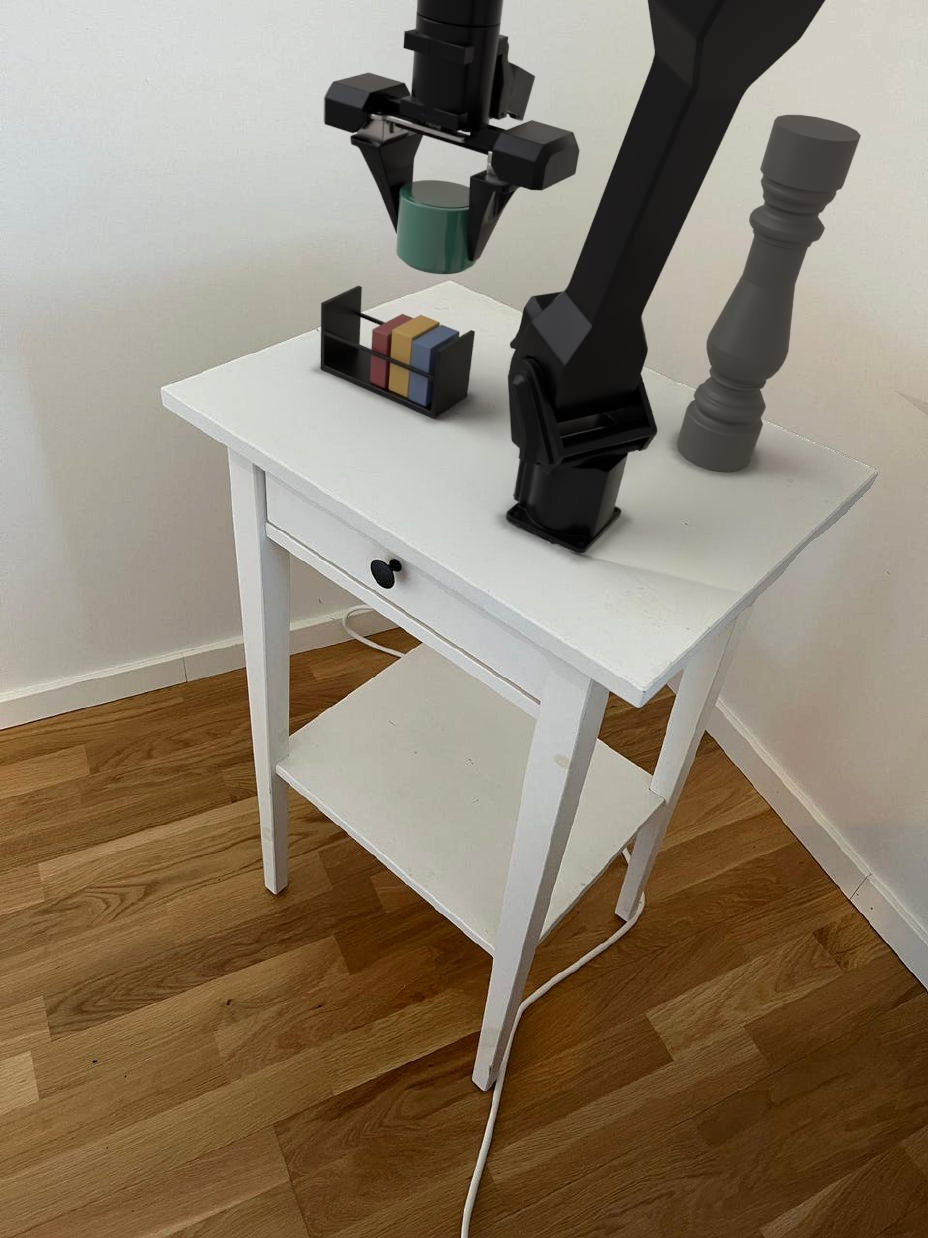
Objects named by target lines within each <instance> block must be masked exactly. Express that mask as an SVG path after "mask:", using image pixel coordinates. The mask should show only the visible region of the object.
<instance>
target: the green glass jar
mask: <svg viewBox="0 0 928 1238" xmlns="http://www.w3.org/2000/svg"><path fill="white" fill-rule="evenodd" d="M469 188H470V186H467V185H465V184H461V183H457V182H454V181H453V182H452V181H447V180H436V179H423V180H414V181H413V182H410V183H407V184H405V185H404V186H402V187H401V189H400V193H399V209H398V225H397V234H396V241H395V242H396V243H395V253H396V256H397V257H398V259H400V260H401V261H402V262H404V263H405V264H406V265H407V266H408V267H410V268H412V269H414V270H416V271H420V272H422V273H423V272H424V273H428V274H433V275H455V274H459V273H462V272H465V271H466V270H468V269H470V268H472V267H473V266H475V265H476V264H477V261H478V260H476V261H474V262H472V261H469V258H468V246H467V238H468V214H469Z"/></svg>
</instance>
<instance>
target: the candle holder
mask: <svg viewBox="0 0 928 1238" xmlns="http://www.w3.org/2000/svg"><path fill="white" fill-rule="evenodd" d="M861 137H862V135H861V134H860V133H859V132H858V130H856V129H855V128H852V127H850V126H849V125H847V124H844V123H840V122H838V121H834V120H831V119H827V118H823V117H818V116H812V115H805V114H784V115H779V116H777V117H775V119H774V120H773V124H772V127H771V131H770V133H769V137H768V141H767V145H766V147H765V151H764V154H763V158H762V161H761V165H760V167H759V168H760V169H759V170H760V171H761V174H762V178H761V179H760V185H761V188H762V199H763V200H764V201H763V202H764V203H763V204H762V205H759V206H757V207H755V208H754V209H753V210H752V211H751V212H750V213H749V217H748V222H749V225H750V227H751V229H752V234H753V237H752V242H751V244H750V248H749V251H748V255H747V258H746V261H745V265H744V268H743V271H742V274H741V276H740V277H739V280H738V282H737V283H736V285H735V286H734V288H733V290H732V292H731V294H730V295H729V298H728V299H727V301H726V303H725V305H724V307H723V309H722V310H721V312H720V314H718V315H719V316H718V317H717V319H716V321H715V323H714V324H713V326H712V328H711V330H710V332H709V333H708V335H707V338H706V347H705V348H706V354H707V359H708V362H709V365H710V368H709V371H708V373H709V375H710V376H709V377H708V378H707V379H706V380H705V381H704V382H702V383H700V384H699V385H698V386H697V388H696V390H695V391H694V393H693V398H694V399H693V400H691V401H690V402H689V404H688V405H687V407H686V409H685V412H684V417H683V420H682V423H681V427H680V430H679V434H678V437H677V440H676V446H677V450H678V452H679V453H680V454H681V456H682V457H684V459H685V460H687V461H688V462H690V463H693V464H694V465H695V466H698V467H700V468H704V469H706V470H709V471H714V472H724V473H730V472H738V471H741V470H743V469H744V468H747V467H748V466H749V464H750V462H751V460H752V457H753V454H754V452H755V448H756V446H757V443H758V440H759V438H760V434H761V432H762V429H763V427H764V423H763V421H762V417H763V416H764V413H765V411H766V406H767V405H766V402H765V399H764V396H763V393H762V391H761V390H762V389H764V388H765V385H766V384H767V381H768V380H769V379H771V378H772V377H774V375H776V374H777V373H778V372H779V371H780V369H782V367H783V365H784V363H785V361H786V359H787V357H788V354H789V351H790V342H791V341H790V338H791V330H792V320H793V310H794V309H793V308H794V300H795V290H796V284H797V281H798V278H799V276H800V272H801V269H802V266H803V263H804V260H805V257H806V254H807V252H808V248H810V247H811V246H812V244H813V243H815V242H817V241H819V240H821V237H822V236H823V234H824V232H825V229H826V227H825V225H824V224H823V222H822V221H821V219H820V217H819V215H820V214H821V213H823V212H824V210H825V209H826V207H827V206H828V205H829V204H831V202H833V200H834V199H835V198H836V197H837V191H839V190H842V188H843V187H844V185H845V183H846V180H847V177H848V173H849V170H850V168H851V165H852V162H853V159H854V156H855V153H856V150H857V148H858V145H859V143H860V139H861Z"/></svg>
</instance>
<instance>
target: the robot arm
mask: <svg viewBox="0 0 928 1238" xmlns="http://www.w3.org/2000/svg"><path fill="white" fill-rule="evenodd" d="M824 3H826V0H647V6H648V13H649V21H650V28H651V36H652V42H653V49H654V54H653V59H652V62H651V65H650V69H649V70H648V74H647V76H646V79H645V81H644V84H643V87H642V90H641V92H640V95H639V98H638V100H637V102H636V105H635V108H634V111H633V113H632V116H631V119H630V121H629V124H628V126H627V129H626V132H625V134H624V138H623V140H622V142H621V146H620V147H619V151H618V153H617V156H616V158H615V161H614V164H613V166H612V169H611V172H610V174H609V177H608V179H607V182H606V185H605V187H604V190H603V193H602V195H601V197H600V201H599V203H598V205H597V209H596V211H595V214H594V216H593V219H592V222H591V225H590V227H589V229H588V232H587V235H586V237H585V240H584V243H583V246H582V249H581V250H580V253H579V256H578V259H577V262H576V264H575V267H574V270H573V272H572V274H571V277H570V280H569V282H568V284H567V286H566V287H565V289H564V290H563V291H562V290H561V291H556V292H550V293H543V294H537V295H531V296H530V297H529V299H528V301H527V302H526V304H525V306H524V307H523V309H522V315H521V320H520V325H519V328H518V330H517V333H516V334H515V337H514V338H513V339H512V340H511V341H510V342H509V348H510V349H513V350H514V351H513V354H512V356H511V359H510V364H509V369H508V374H507V388H508V389H507V390H508V403H509V404H508V406H509V408H508V409H509V423H510V424H509V425H510V437H511V442H512V444H514V445H515V446H516V447H517V448H518V450H519V451H518V452H519V453H518V459H519V461H518V467H517V472H516V473H517V474H516V479H515V486H514V490H513V500H514V501H516V503H515V504H514V505H513V506H512V507H511V508H509V509H508V510H507V511H506V514H505V519H506V521H508V522H509V523H512V524H514V525H516V526H518V527H520V528H522V529H524V530H526V531H529V532H531V533H533V534H535V535H537V536H539V537H541V538H544V539H545V540H547V541H550V542H552V543H554V544H556V545H558V546H559V547H560V546H561V547H563V548H565V549H567V550H569V551H572V552H573V553H575V554H579V555H580V554H585V553H586V552H587V551H588V550H589V549H590V548H591V547H592V546H593V545H594V544H595V543H596V542H597V541H598V540H599V539H600V538H601V537H602V536H603V535H604V534H605V533H606V532H607V531H608V530H609V529H610V528H611V527H612V526H613V525H614V524H615V523H616V522H617V521H618V520H619V519H620V517H621V516H622V509H621V508H620V507H619V506H616V504H617V499H618V496H619V492H620V488H621V483H622V480H623V476H624V472H625V467H626V463H627V461H628V457H629V453H632V452H633V453H634V452H637V451H639V452H642V451H646V450H647V449H648V448H649V446H650V445H651V443H652V442H653V440H654V438H655V437H656V436H657V434H658V426H657V422H656V419H655V416H654V413H653V410H652V406H651V402H650V399H649V396H648V391H647V389H646V386H645V383H644V379H643V376H642V373H643V372H642V371H643V369H644V366H645V362H646V359H647V356H648V353H649V347H648V341H647V337H646V331H645V327H644V321H643V313H644V311H645V309H646V306H647V304H648V302H649V300H650V298H651V295H652V293H653V291H654V289H655V287H656V285H657V282H658V280H659V278H660V276H661V274H662V271H663V270H664V267H665V266H666V263H667V262H668V259H669V256H670V254H671V252H672V250H673V248H674V246H675V243H676V241H677V239H678V237H679V235H680V233H681V231H682V228H683V226H684V224H685V222H686V219H687V217H688V215H689V213H690V211H691V210H692V207H693V204H694V202H695V200H696V198H697V196H698V194H699V191H700V189H701V187H702V185H703V183H704V180H705V179H706V177H707V175H708V172H709V170H710V168H711V166H712V164H713V162H714V160H715V157H716V155H717V153H718V150H719V148H720V146H721V145H722V142H723V139H724V137H725V135H726V133H727V131H728V129H729V128H730V127H729V126H730V125H731V122H732V120H733V118H734V116H735V114H736V112H737V109H738V108H739V105H740V103H741V101H742V99H743V97H744V95H745V94H746V92H747V91H748V89H749V88H750V87H751V86H752V85H753V84H754V83H755V82H756V81H757V80H758V79H759V78H760V77H761V76H763V75H764V74H765V73H766V72H767V71H768V70H769V69H770V68H771V67H772V66H773V65H775V63H776V62H777V61H779V60H780V59H781V58H782V57H783V56H784V55H785V54H786V53H787V52H789V50H791V48H792V47H794V45H796V44H797V43H798V42H799V41H800V40H801V38H802V37H803V36H804V34H805V32H807V29H808V28H809V26H810V25H811V23H812V22H813V20H814V19H815V17H816V16H817V14H818V12H819V11H820V9H821V8H822V6H823V5H824ZM503 7H504V0H416V12H415V13H416V15H415V16H416V17H415V28H413V29H408V30H405V31H404V32H403V34H404V35H403V49H405V50H409V51H412V52H413V58H412V59H413V60H412V74H411V90H409V87H408V86H407V84H406V82H403V81H399V80H396V79H392V78H389V77H386V76H382V75H378V74H376V73H371V72H365V73H361V74H358V75H354V76H350V77H346V78H342V79H337V80H334V81H332V83H331V84H330V86H329V87H328V89H327V90H326V92H325V95H324V96H323V123H324V125H325V126H328V127H332V128H334V129H338V130H341V131H344V132H347V133H351V134H352V135H350V137H349V139H350V140H349V141H350V145H352V146H354V147H356V148H358V150H359V151H360V154H361V155H362V157H363V159H364V161H365V163H366V165H367V167H368V170H369V171H370V174H371V175H372V178H373V180H374V182H375V184H376V187H377V189H378V191H379V193H380V196H381V199H382V202H383V203H384V206H385V209H386V212H387V214H388V217H389V219H390V222H391V225H392V227H393V229H394V232H395V235H397V225H398V209H399V193H400V189H401V187H402V186H404V185H405V184H407V183H410V182H414V167H415V158H416V155H417V153H418V150H419V147H420V144H421V142H422V139H423V137H424V136H425V137H427V138H430V139H434V140H436V141H441V142H444V143H447V144H450V145H453V146H457V147H460V148H464V149H467V150H469V151H473V152H475V153H479V154H482V155H485V156H487V161H486V163H487V164H486V169H484V170H482V171H480V172H477V173H475V174H472V175H470V176H469V187H470V188H469V214H468V238H467V246H468V258H469V261H472V262H474V261H476V260H477V261H478V260H480V258H481V256H482V254H483V252H484V250H485V249H486V247H487V244H488V243H489V240H490V238H491V236H492V234H493V232H494V230H495V228H496V226H497V224H498V222H499V220H500V218H501V216H502V214H503V212H504V210H505V209H506V207H507V205H508V204H509V202H510V200H511V199H512V197H513V196H514V195H515V193H516V192H517V190H518V189H520V188H523V189H526V190H529V191H544V190H546V189H548V188H551V187H552V186H554V185H557V184H558V183H560V182H562V181H564V180H567V179H569V178H570V177H572V176H575V175H576V173H577V167H578V162H579V156H580V152H581V151H580V147H579V143H578V141H577V138H576V135H575V133H574V131H571V130H567V129H564V128H560V127H557V126H553V125H551V124H550V125H549V124H547V123H543V122H540V121H537V120H534V119H531V120H529V121H526V122H523V121H524V119H525V114H526V111H527V108H528V104H529V101H530V97H531V94H532V89H533V87H534V83H535V79H536V76H535V75H534V74H532V73H531V72H529V71H527V70H526V69H524V68H522V66H521V67H520V66H519V65H517V64H515V63H512V62H510V61H509V52H510V44H509V36H507V35H504V34H500V33H501V25H502V15H503ZM508 117H509V118H510V119H513V120H516V121H520V122H523V123H521V124H518V125H516V126H513V127H509V128H507V129H506V128H503V127H499V126H495V125H492V124H490V120H493V119H494V120H496V121H500V120H502V119H506V118H508ZM468 133H469V134H468Z"/></svg>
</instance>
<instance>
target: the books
mask: <svg viewBox="0 0 928 1238" xmlns="http://www.w3.org/2000/svg"><path fill="white" fill-rule="evenodd" d="M440 323H441V322H439V321H438V320H435V319H432V318H430V317H428V316H425V315H423V314H419V315H418V316H415V317H412V316H409V315H407V314H404V313H401V314H399V315H397V316H395V317H392V318H391V319H389V320H388V321H385V323H384V324H382V325H378V326H376V327H374V328H373V329H372V330H371V348H370V349H372V350H374V351H377V352H379V353H381V354H384V355H386V356H389V357H391V358H393V359H396V360H398V361H400V362H403V363H405V364H408V365H410V366H412V367H415V368H417V369H419V370H422V371H424V372H427V373H429V374H431V375H434V374H435V364H436V353H437V350H438V349H440V348H441V347H443V346H445V345H446V344H448V343H450V342H452V341H453V340H455V339H457V338H458V337H460V332H461V331H459V330H457V329H454V328H453V327H449V326H447V325H444V324H440ZM370 382H371V383H373V384H376V385H378V386H380V387H382V388H386V387H388V386H389V390H391V391H393V392H396V393H398V394H400V395H403V396H405V397H408V399H410V400H412V401H414V402H417V403H419V404H421V405H423V406H427V405H428V404H430V403H432V396H433V385H434V381H433V380H431V379H428V378H426V377H424V376H421V375H419V374H416V373H414V372H412V371H409V370H407V369H405V368H402V367H400V366H397V365H395V364H393V363H390V362H388V361H386V360H383V359H381V358H379V357H376V356H374V355H371V370H370Z"/></svg>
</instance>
